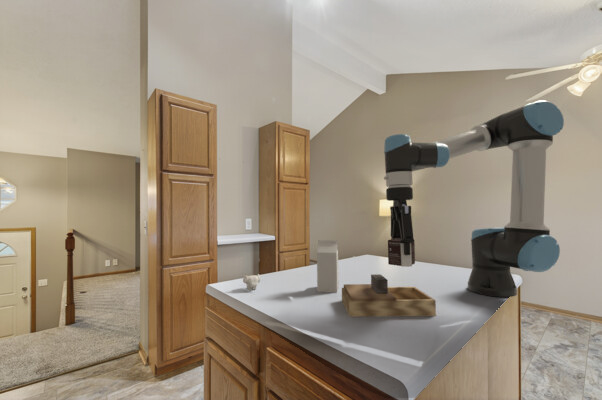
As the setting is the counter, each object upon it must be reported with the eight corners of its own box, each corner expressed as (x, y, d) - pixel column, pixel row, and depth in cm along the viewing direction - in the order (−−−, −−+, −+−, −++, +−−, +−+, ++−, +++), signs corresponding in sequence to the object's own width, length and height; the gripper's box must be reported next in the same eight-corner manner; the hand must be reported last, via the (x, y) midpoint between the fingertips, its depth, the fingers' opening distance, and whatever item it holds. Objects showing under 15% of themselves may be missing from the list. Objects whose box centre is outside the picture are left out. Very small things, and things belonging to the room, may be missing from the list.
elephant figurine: (245, 293, 105) (245, 277, 106) (240, 288, 113) (240, 272, 113) (263, 291, 108) (263, 275, 109) (257, 286, 116) (257, 271, 116)
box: (387, 264, 85) (386, 240, 85) (395, 261, 90) (395, 238, 90) (408, 267, 81) (407, 241, 81) (415, 263, 86) (414, 239, 86)
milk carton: (337, 294, 103) (336, 241, 103) (317, 293, 104) (316, 241, 105) (338, 289, 110) (337, 239, 110) (320, 288, 111) (319, 239, 112)
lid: (380, 286, 94) (380, 271, 94) (396, 300, 79) (395, 283, 80) (343, 286, 94) (343, 272, 94) (352, 301, 79) (352, 283, 79)
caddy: (415, 302, 94) (414, 286, 94) (435, 318, 80) (435, 300, 80) (341, 303, 93) (341, 287, 94) (349, 319, 79) (349, 301, 80)
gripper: (379, 189, 97) (381, 257, 96) (395, 184, 76) (398, 271, 75) (402, 189, 96) (404, 257, 96) (424, 183, 76) (428, 270, 75)
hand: (402, 263), depth 86 cm, fingers closed on box, 8 cm apart
